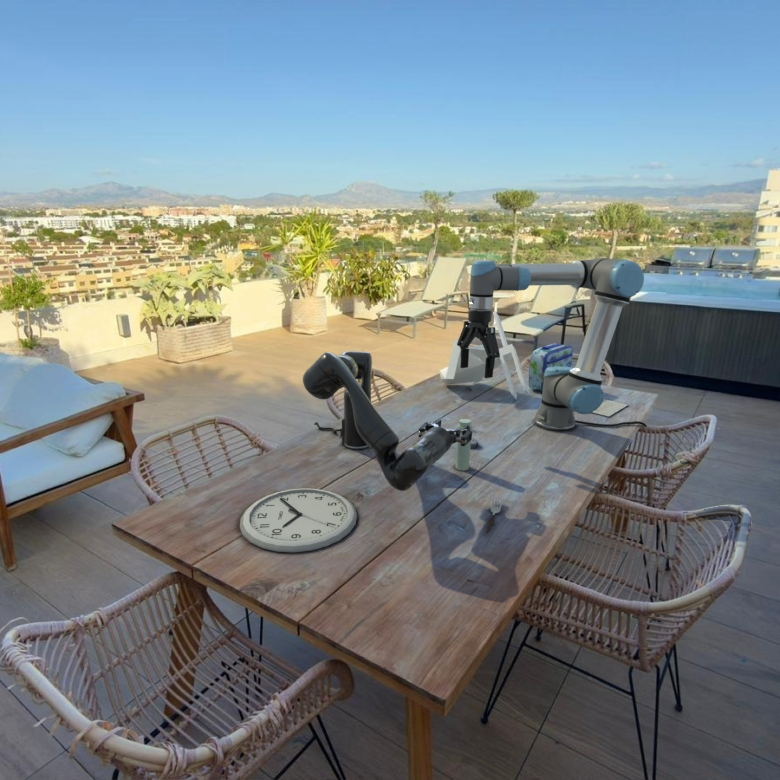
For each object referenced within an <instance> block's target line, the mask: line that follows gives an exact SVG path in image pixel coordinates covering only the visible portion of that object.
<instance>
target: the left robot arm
mask: <svg viewBox="0 0 780 780" xmlns="http://www.w3.org/2000/svg"><path fill="white" fill-rule="evenodd" d="M372 372H373V356H372V354H371V353H370V352H369V351H357V350H356V351H355V350H347V351H343V352H342V353H341V354H338V355H336V354H335V353H333V352H331V351H325V352H324V353H322V354H321V355H320V356H319V357H318V358H317V359H316V360H315V361H314V362H313V363H312V364H311V365H310V366H309V367H308V368H307V369H306V370H305V372H304V373H303V375H302V384H303V386H304V388H305V390H306V391H307V392H308V394H310V395H311V396H312V397H313V398H316V399H318V400H323V401H324V400H329V399H330V398H332V397H333V396H334V395H335V394H336V393H337V392H338V391H339V390H340V389H343V388H345V389H344V391H343V418H341V428H337V429H335V428H333V427H323V426H321V425H320V424H319V422H318V421H317V422H314V423H313V425H314V426H316V427H317V428H318V429H319V430H322V431H327V430H330V431H332V432H333V434H336V433H337V432H339V436H340V437H341V445H342V446H344V447H345V448H347V449H351V450H364V449H368V448H369V449H370V450H371V451H372V453H373V454H374V456H375V458H376V460H377V462H378V463H377V464H378V465H379V467H380V469H381V471H382V473H383V476H384V477H385V480H386V481H387V482H388V484H389V485H390V486H391V487H392V488H394V489H395V490H398V491H400V492H405V491H408V490H409V489H411V488H412V487H413V486H414V485H415V483H416V482H418V481H419V480H420V479H421V478H422V477H423V476H424V474H426V473H427V471H428V470H429V469H430V468H431V467H432V466H433V465H434V464H435V463H436V462H437V461H439V460H440V459H441V458H442V457H443V456H444V455H445V454H446V453H447V452H448V451H449V450H450V448H451V447H452V445H453V444H457V442H459V443H461V446H465V445H466V444H467V443H469V442H470V441H471V440H472V438H473V430H471V431H470V427H469V425H466V426H465V427H464V428H463V429H458V427H456V428H451V429H450V428H444V427H442V419H438V420H435V421H433V422H431V423H429V422H428V421H427V422H426V421H425V422H424V423H422V424H421V426H420V427H419V428H418V435H417V436H418V440H416V442H414V443H413V444H412V445H411V446H409V447H407V449H405V450H404V451H403V452H402V453H401V454H400V455H399V456H398V457H397V455H396V450H397V448H398V446H399V444H400V438H399V437H398V435H397V433H395V431H394V430H393V429H392V428H391V426H390V425H389V424H388V423H387V422H386V421H385V419H384V418H383V417H382V416H381V414H380V413H379V412H378V410H377V409H376V408H375V406H374V405H373V403H372ZM358 380H360V382H358ZM460 433H462V435H461V436H460Z"/></svg>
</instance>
